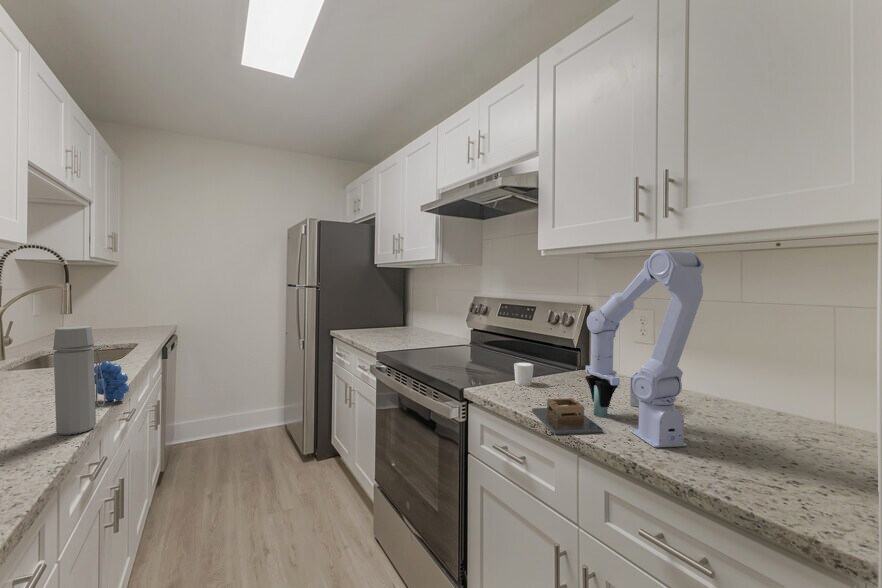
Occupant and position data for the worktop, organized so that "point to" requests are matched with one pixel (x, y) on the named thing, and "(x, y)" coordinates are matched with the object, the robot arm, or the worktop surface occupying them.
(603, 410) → the teal cylinder
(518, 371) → the white cup
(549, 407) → the wooden crate on slab
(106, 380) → the grapes
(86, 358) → the water bottle
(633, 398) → the medicine box
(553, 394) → the worktop surface
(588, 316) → the robot arm
